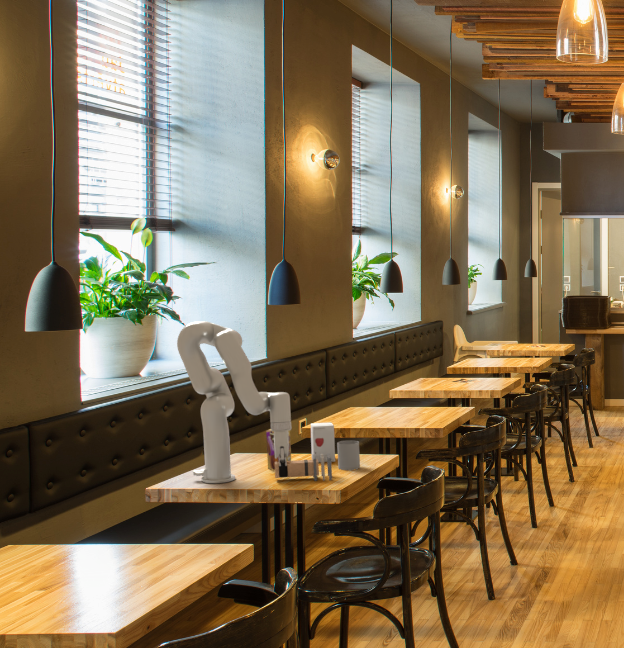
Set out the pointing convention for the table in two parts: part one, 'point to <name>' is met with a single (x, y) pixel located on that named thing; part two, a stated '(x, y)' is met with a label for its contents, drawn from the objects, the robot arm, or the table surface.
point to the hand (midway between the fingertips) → (283, 474)
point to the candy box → (272, 452)
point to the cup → (348, 455)
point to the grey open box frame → (322, 467)
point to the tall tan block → (298, 468)
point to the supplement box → (323, 440)
